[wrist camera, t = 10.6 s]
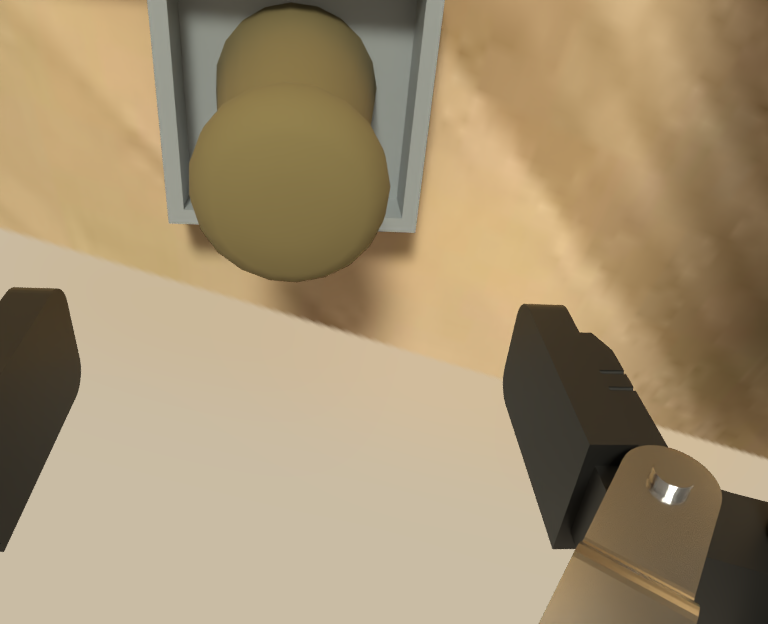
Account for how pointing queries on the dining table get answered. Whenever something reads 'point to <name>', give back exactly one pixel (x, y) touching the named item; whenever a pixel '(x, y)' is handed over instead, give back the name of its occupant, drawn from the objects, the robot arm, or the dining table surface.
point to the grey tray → (383, 43)
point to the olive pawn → (291, 147)
